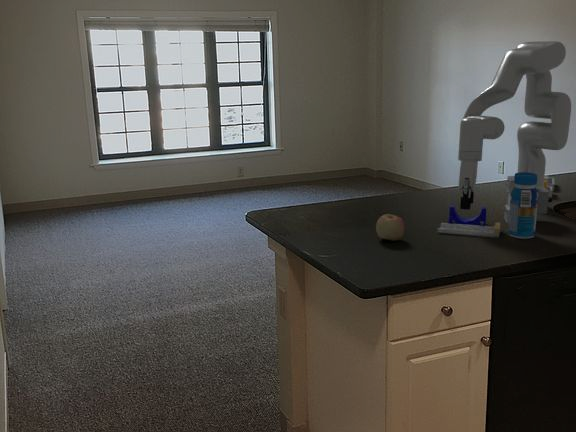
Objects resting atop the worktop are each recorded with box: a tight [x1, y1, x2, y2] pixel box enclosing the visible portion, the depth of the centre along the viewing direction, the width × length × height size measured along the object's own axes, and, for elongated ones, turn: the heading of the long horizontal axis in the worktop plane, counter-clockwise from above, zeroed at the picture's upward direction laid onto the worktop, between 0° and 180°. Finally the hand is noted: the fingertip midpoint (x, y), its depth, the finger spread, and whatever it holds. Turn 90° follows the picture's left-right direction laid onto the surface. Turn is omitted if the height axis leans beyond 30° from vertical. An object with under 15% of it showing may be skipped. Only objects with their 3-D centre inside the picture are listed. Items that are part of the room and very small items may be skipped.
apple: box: [375, 213, 406, 242], centre depth 200 cm, size 9×9×8 cm
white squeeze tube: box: [437, 221, 502, 239], centre depth 207 cm, size 8×19×3 cm, turn 69°
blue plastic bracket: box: [448, 204, 487, 226], centre depth 216 cm, size 12×4×6 cm, turn 71°
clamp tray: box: [506, 186, 553, 199], centre depth 257 cm, size 9×17×3 cm, turn 69°
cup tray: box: [546, 176, 555, 192], centre depth 271 cm, size 15×15×3 cm
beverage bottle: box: [507, 172, 538, 240], centre depth 200 cm, size 8×8×20 cm
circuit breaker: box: [503, 175, 553, 224], centre depth 218 cm, size 8×14×15 cm, turn 78°
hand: (466, 206), depth 214 cm, fingers open, 9 cm apart
